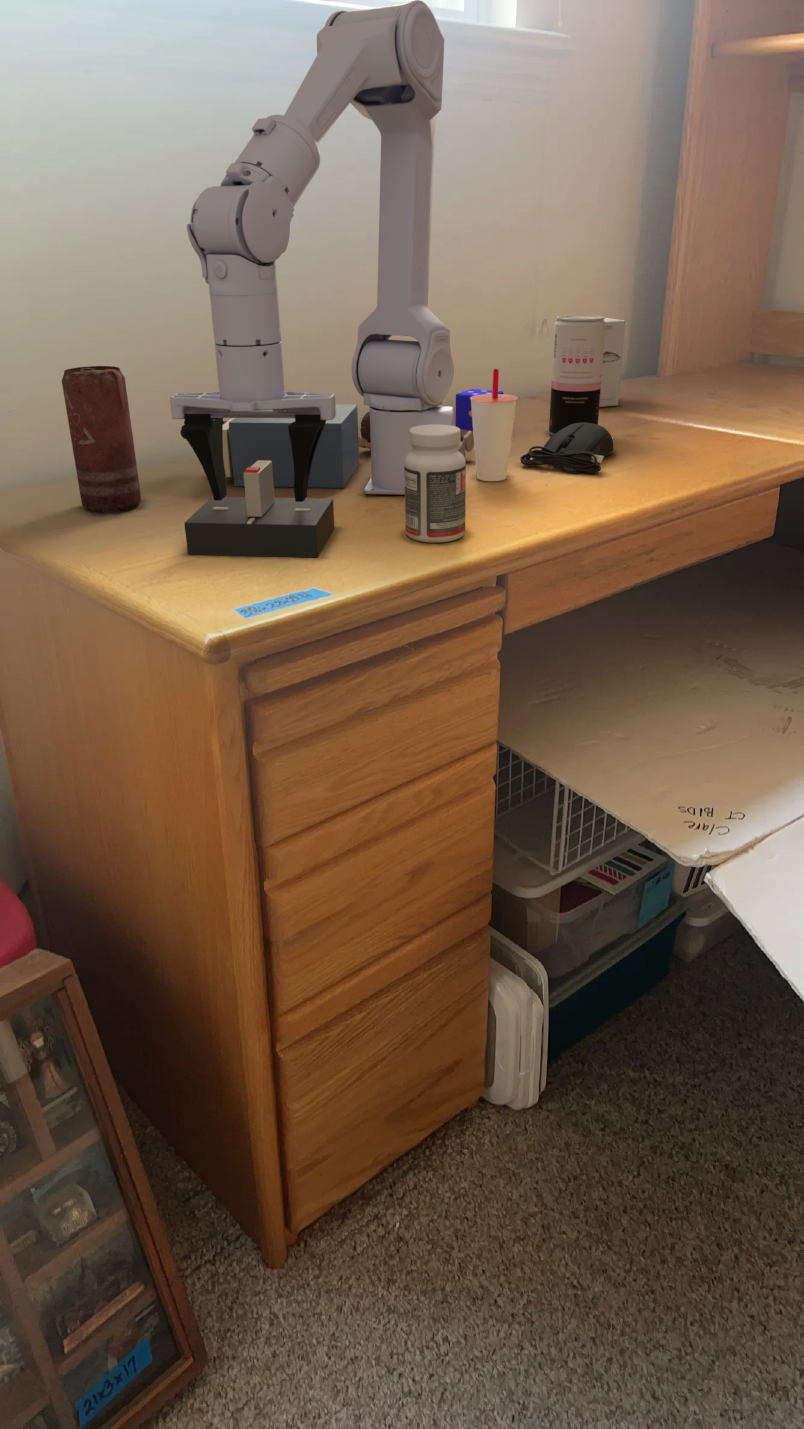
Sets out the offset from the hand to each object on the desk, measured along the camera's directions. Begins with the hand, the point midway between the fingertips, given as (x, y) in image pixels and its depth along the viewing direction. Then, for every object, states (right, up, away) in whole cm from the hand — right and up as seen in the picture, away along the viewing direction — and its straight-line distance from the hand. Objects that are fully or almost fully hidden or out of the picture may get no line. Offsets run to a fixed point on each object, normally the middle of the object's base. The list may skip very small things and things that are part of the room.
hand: (260, 498), depth 91 cm
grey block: (0, -1, 0) cm, 1 cm away
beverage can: (+37, +18, +44) cm, 60 cm away
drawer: (-4, +9, +25) cm, 27 cm away
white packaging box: (+42, +29, +64) cm, 81 cm away
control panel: (0, -4, +2) cm, 4 cm away
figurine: (+15, +13, +34) cm, 40 cm away
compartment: (+1, +8, +25) cm, 26 cm away
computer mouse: (+35, +11, +30) cm, 48 cm away
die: (+24, +20, +48) cm, 57 cm away
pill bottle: (+16, -3, +3) cm, 17 cm away
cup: (+23, +7, +23) cm, 33 cm away
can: (-18, +2, +14) cm, 22 cm away
